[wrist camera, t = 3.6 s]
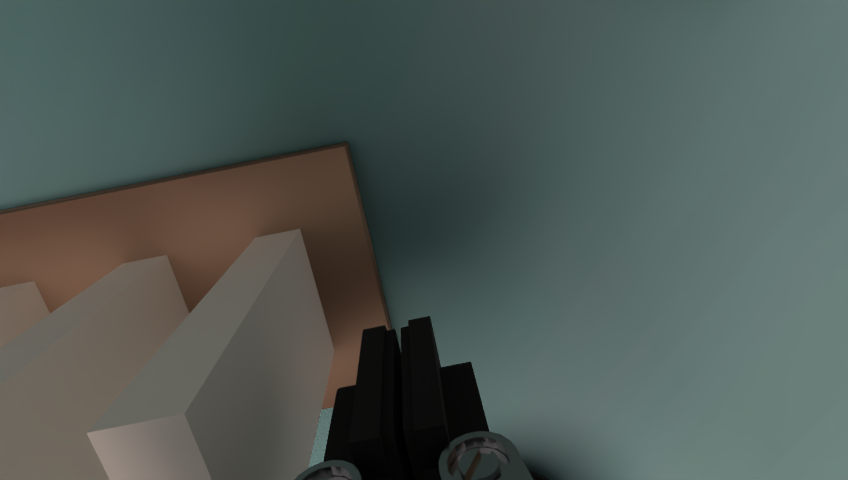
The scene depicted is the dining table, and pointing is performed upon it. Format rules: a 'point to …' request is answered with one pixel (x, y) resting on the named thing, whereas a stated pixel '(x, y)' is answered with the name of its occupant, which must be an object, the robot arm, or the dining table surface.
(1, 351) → the tile
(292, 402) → the tile
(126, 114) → the dining table surface
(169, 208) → the brown flat slab
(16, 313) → the tile
